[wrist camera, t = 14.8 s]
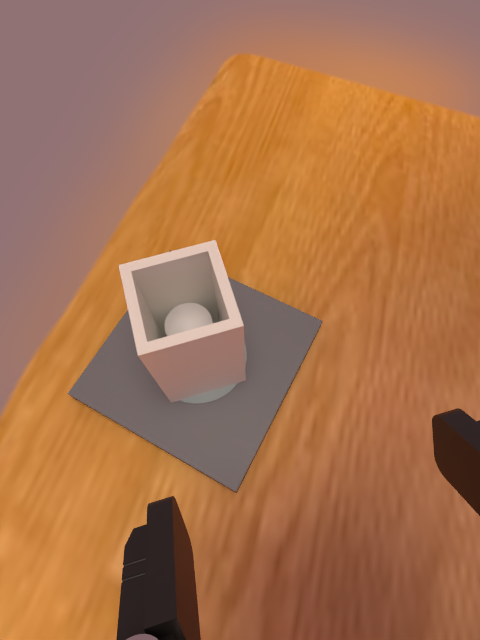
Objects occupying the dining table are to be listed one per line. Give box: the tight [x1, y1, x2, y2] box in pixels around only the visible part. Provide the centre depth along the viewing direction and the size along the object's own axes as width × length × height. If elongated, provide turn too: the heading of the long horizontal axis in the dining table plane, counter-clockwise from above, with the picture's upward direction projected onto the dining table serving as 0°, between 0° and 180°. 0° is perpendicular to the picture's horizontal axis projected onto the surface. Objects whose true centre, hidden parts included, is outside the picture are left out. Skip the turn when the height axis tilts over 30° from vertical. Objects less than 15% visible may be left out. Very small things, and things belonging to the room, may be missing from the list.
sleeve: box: [119, 240, 246, 403], centre depth 28 cm, size 6×6×10 cm
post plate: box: [68, 251, 322, 492], centre depth 30 cm, size 14×14×7 cm
